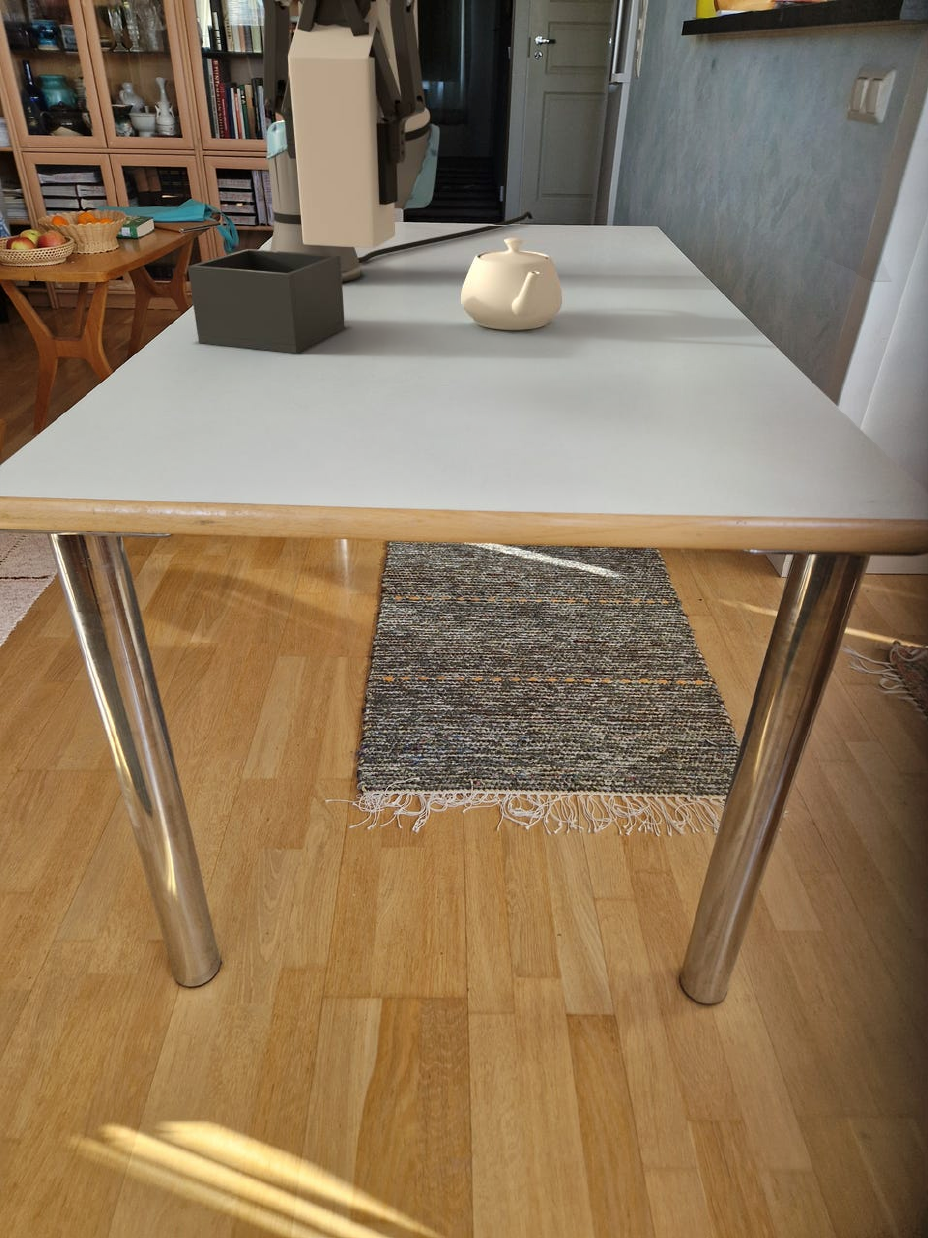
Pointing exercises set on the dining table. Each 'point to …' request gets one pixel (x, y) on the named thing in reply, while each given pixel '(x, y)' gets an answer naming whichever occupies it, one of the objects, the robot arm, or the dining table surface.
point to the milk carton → (338, 135)
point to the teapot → (512, 289)
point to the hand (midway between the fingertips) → (348, 199)
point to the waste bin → (267, 299)
